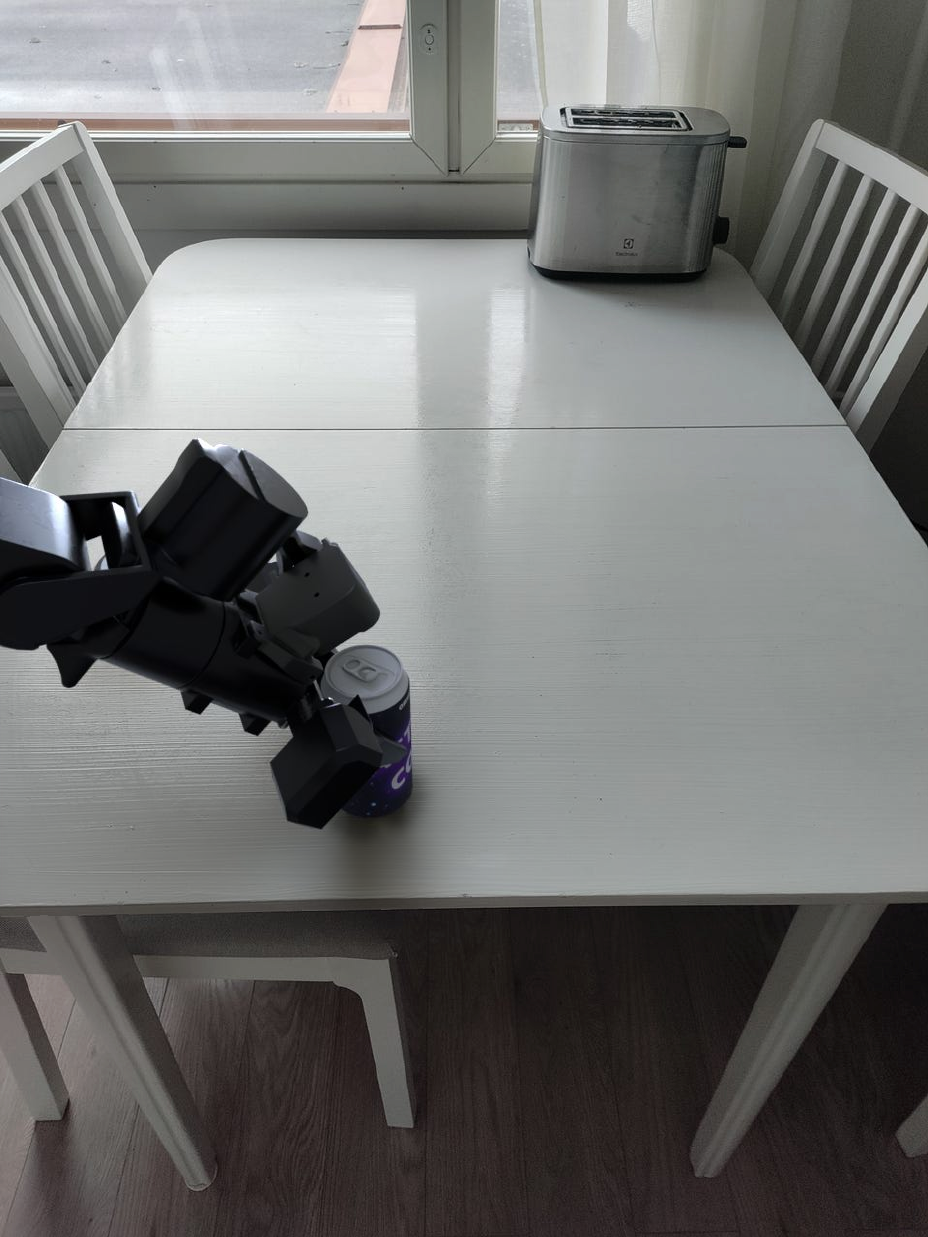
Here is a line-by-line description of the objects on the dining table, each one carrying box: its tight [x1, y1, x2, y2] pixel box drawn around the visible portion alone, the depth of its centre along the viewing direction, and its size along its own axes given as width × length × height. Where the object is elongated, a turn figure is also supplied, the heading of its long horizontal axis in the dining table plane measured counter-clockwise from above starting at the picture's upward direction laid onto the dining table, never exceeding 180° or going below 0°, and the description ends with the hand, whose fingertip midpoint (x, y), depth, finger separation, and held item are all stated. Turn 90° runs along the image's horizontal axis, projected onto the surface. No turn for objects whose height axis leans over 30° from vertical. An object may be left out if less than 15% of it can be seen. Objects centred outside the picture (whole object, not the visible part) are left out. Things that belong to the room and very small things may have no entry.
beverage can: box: [320, 643, 414, 819], centre depth 64 cm, size 6×6×12 cm
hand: (387, 724), depth 64 cm, fingers closed on beverage can, 5 cm apart
